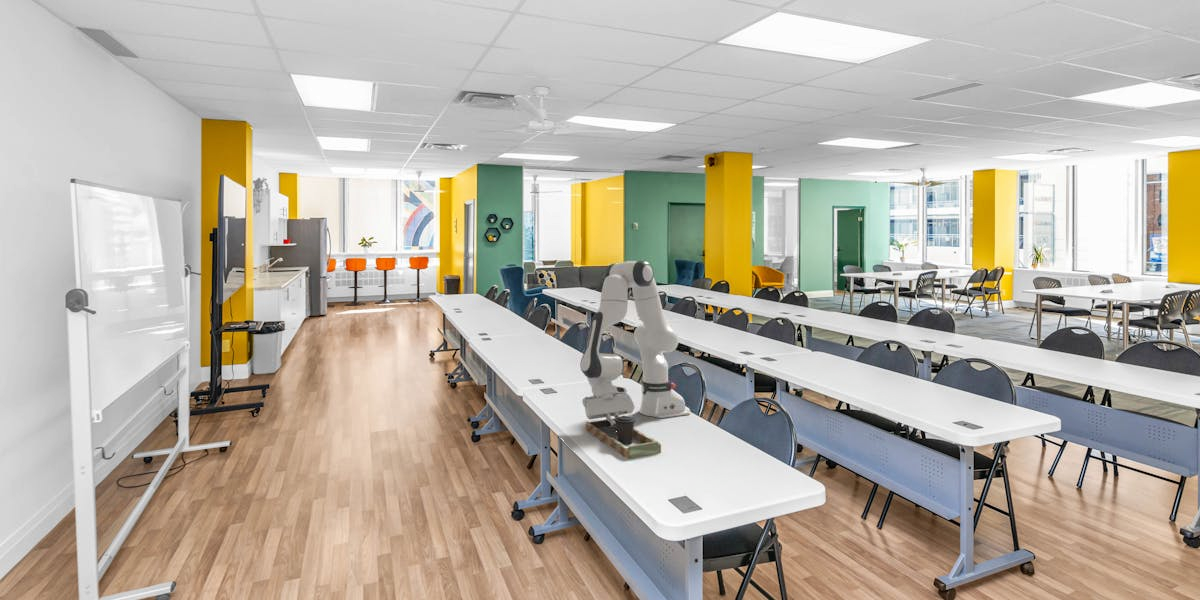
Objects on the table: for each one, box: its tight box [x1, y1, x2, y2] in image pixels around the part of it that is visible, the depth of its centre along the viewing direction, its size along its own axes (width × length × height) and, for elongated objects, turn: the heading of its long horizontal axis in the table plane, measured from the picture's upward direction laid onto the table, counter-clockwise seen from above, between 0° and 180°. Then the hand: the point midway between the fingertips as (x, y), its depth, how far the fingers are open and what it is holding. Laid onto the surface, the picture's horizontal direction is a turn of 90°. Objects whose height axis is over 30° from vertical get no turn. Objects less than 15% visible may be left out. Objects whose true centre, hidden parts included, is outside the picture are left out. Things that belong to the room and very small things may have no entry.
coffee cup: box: [614, 415, 636, 446], centre depth 241 cm, size 8×8×10 cm
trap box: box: [585, 418, 662, 459], centre depth 244 cm, size 36×14×4 cm, turn 25°
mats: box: [599, 426, 617, 439], centre depth 253 cm, size 11×10×1 cm
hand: (615, 424), depth 247 cm, fingers closed
